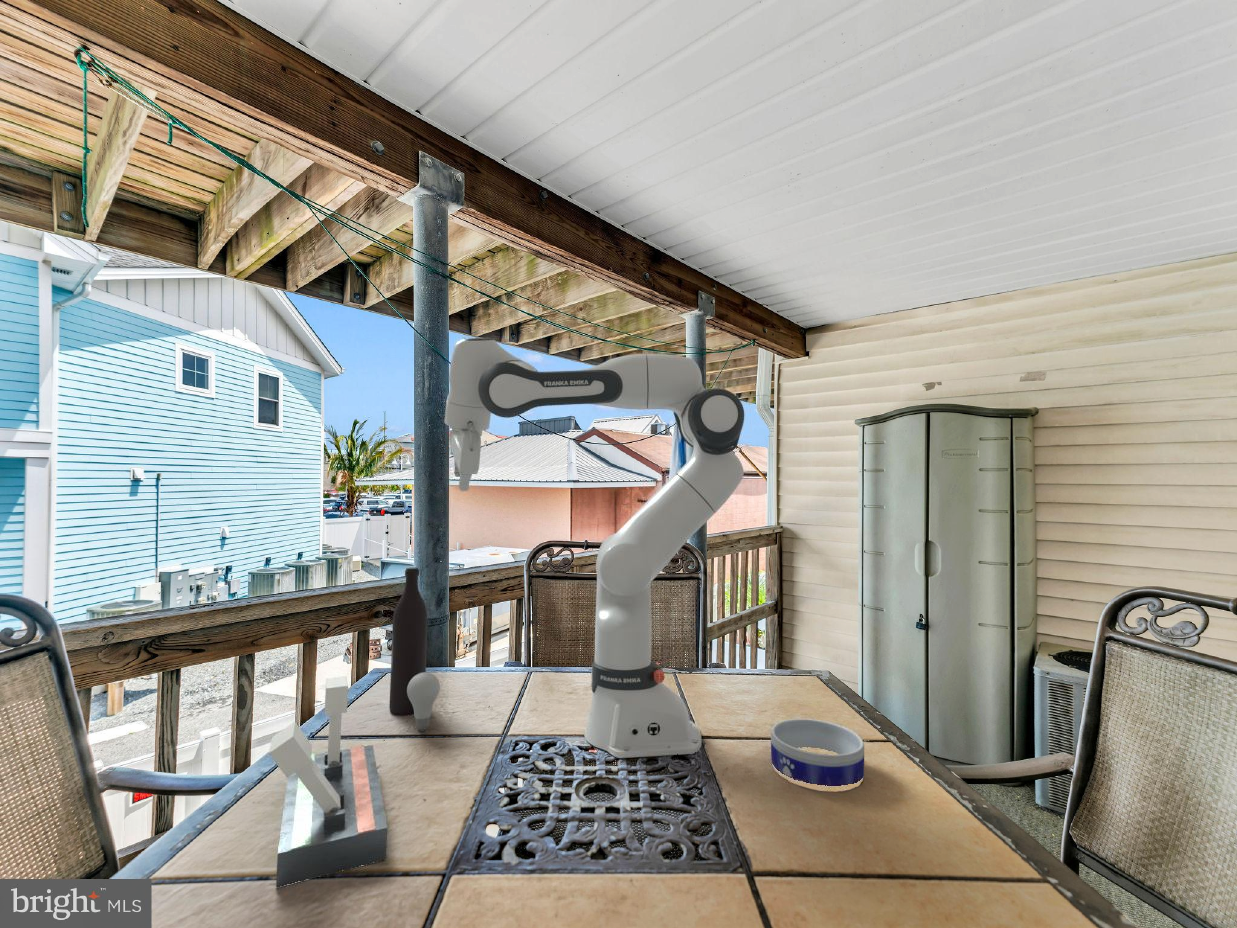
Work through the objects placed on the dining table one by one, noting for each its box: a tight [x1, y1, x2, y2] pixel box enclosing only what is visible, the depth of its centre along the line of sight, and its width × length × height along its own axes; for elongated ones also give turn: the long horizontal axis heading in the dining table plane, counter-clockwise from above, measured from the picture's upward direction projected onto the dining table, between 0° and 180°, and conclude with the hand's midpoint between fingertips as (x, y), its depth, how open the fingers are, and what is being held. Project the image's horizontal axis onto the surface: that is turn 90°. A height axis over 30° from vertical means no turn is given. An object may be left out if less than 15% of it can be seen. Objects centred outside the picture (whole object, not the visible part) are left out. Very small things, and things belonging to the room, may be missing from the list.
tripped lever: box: [324, 675, 349, 765], centre depth 87 cm, size 3×5×13 cm, turn 27°
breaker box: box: [275, 744, 388, 888], centre depth 81 cm, size 12×26×5 cm, turn 27°
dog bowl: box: [770, 718, 865, 786], centre depth 98 cm, size 15×15×6 cm
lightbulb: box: [407, 671, 441, 731], centre depth 111 cm, size 6×6×11 cm
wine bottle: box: [388, 566, 429, 716], centre depth 122 cm, size 7×7×30 cm
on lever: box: [268, 721, 340, 813], centre depth 74 cm, size 3×5×13 cm
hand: (460, 482), depth 117 cm, fingers open, 8 cm apart
